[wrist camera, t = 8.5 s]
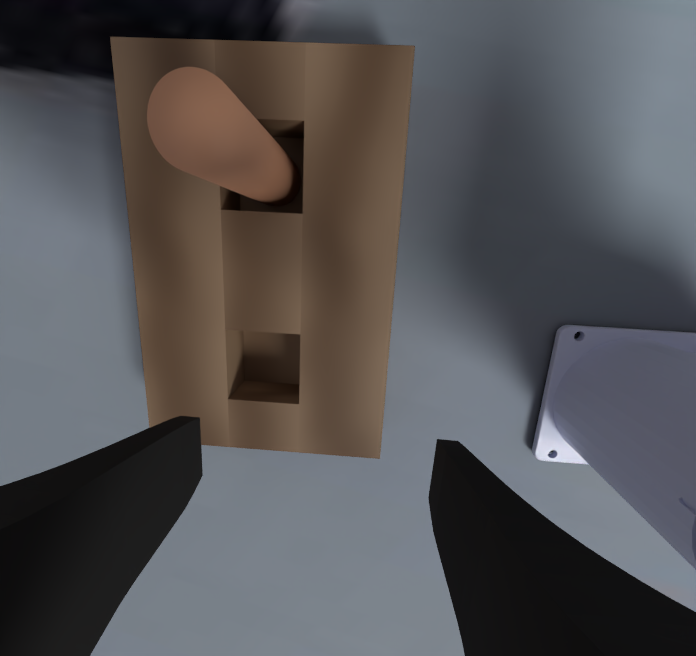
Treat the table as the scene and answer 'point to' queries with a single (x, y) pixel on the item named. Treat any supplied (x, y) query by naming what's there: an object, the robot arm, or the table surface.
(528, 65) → the table surface
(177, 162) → the pin
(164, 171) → the bore block
